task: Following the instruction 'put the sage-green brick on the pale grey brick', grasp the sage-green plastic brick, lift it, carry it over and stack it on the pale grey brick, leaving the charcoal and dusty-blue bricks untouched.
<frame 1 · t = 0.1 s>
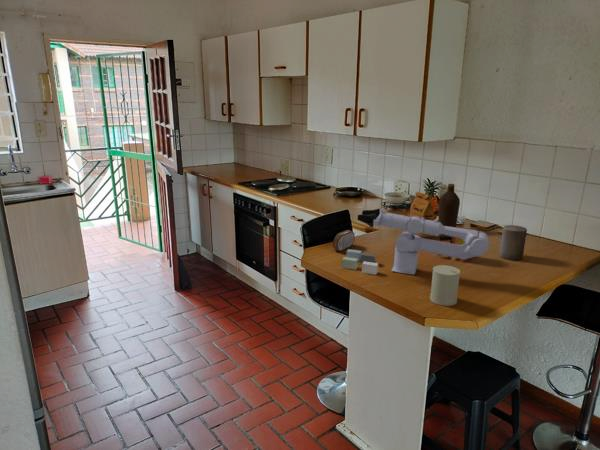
hand: (360, 215, 182), 22 cm above the counter, tool horizontal, fingers open, 7 cm apart
mug: (455, 258, 195), on the counter
grey brick: (369, 272, 179), on the counter
coffee package: (420, 235, 228), on the counter
blue brick: (353, 259, 193), on the counter
charcoal brick: (368, 263, 189), on the counter
olive oil: (446, 229, 238), on the counter
can: (443, 300, 155), on the counter
sage brick: (349, 267, 184), on the counter
pillar candle: (510, 257, 198), on the counter
tin: (343, 249, 207), on the counter
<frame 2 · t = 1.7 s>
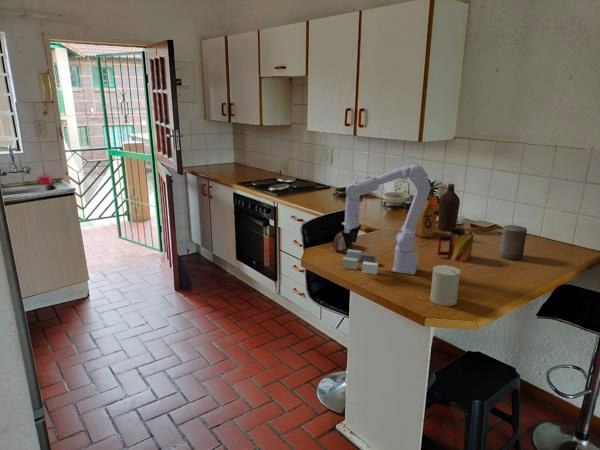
hand: (350, 244, 181), 10 cm above the counter, tool pointing down, fingers open, 7 cm apart
nothing on the counter moved.
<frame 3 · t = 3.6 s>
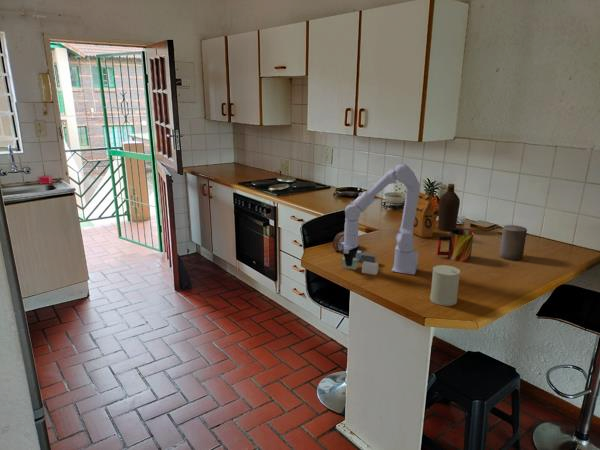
hand: (349, 264, 183), 1 cm above the counter, tool pointing down, fingers closed on sage brick, 3 cm apart
sage brick: (349, 267, 184), on the counter, touching gripper
everything else where it was.
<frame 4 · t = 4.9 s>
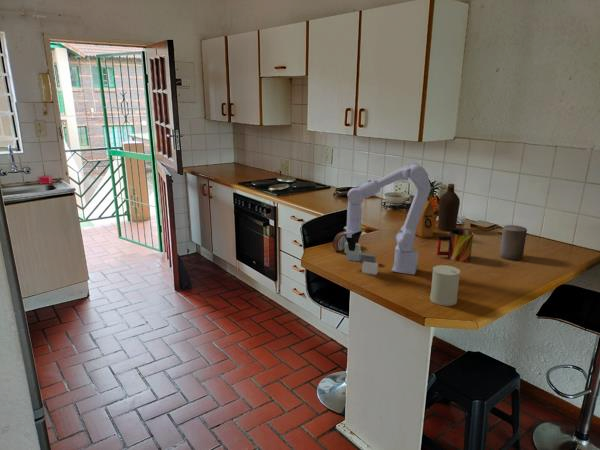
hand: (352, 249, 181), 8 cm above the counter, tool pointing down, fingers closed on sage brick, 3 cm apart
sage brick: (352, 252, 181), point 7 cm above the counter, touching gripper
everything else where it was.
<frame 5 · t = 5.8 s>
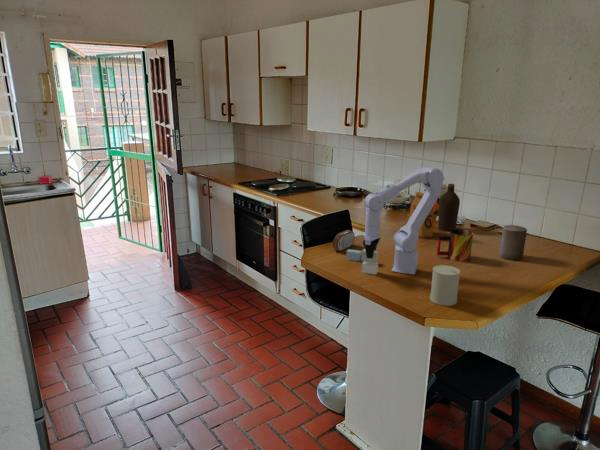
hand: (370, 256, 177), 7 cm above the counter, tool pointing down, fingers closed on sage brick, 3 cm apart
sage brick: (369, 260, 177), point 5 cm above the counter, touching gripper
everything else where it was.
when the fingers open (7 cm above the counter, at t = 6.4 s): sage brick drops 1 cm, resting on grey brick.
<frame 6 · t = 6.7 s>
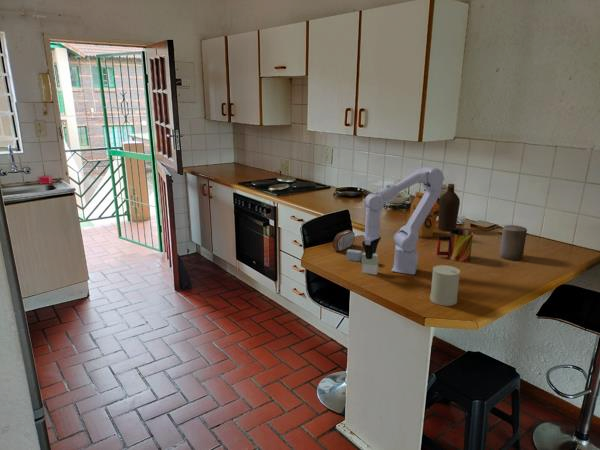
hand: (370, 256, 177), 7 cm above the counter, tool pointing down, fingers open, 5 cm apart
grey brick: (369, 272, 179), on the counter, touching sage brick
sage brick: (369, 263, 177), point 4 cm above the counter, touching grey brick
everything else where it was.
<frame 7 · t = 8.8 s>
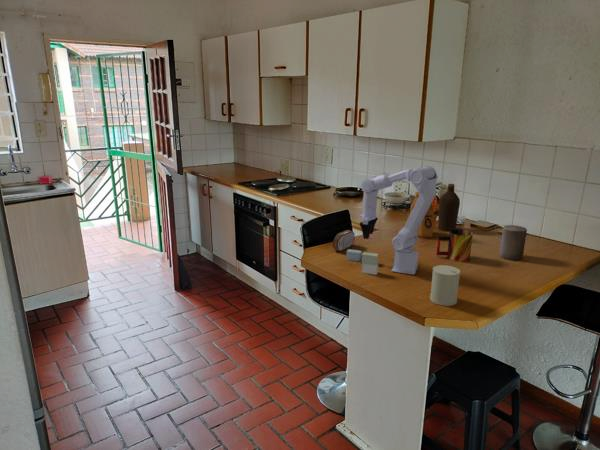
hand: (368, 236, 191), 10 cm above the counter, tool pointing down, fingers open, 7 cm apart
nothing on the counter moved.
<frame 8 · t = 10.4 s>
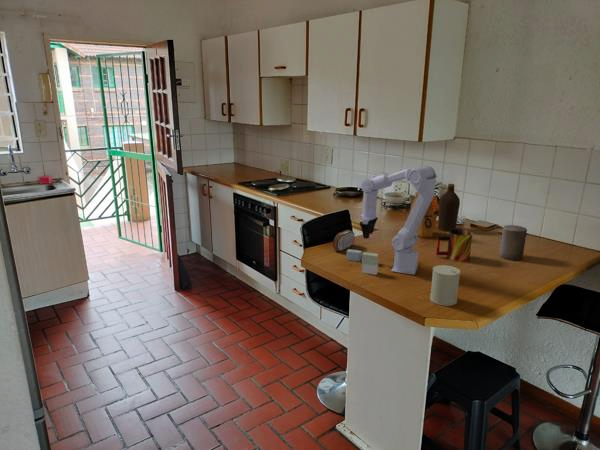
hand: (368, 235, 192), 10 cm above the counter, tool pointing down, fingers open, 7 cm apart
nothing on the counter moved.
at the end: sage brick 0.2 cm off-centre on the grey brick, point 4.0 cm above the grey brick's base; charcoal brick moved 0.2 cm from its start; blue brick moved 0.2 cm from its start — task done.
